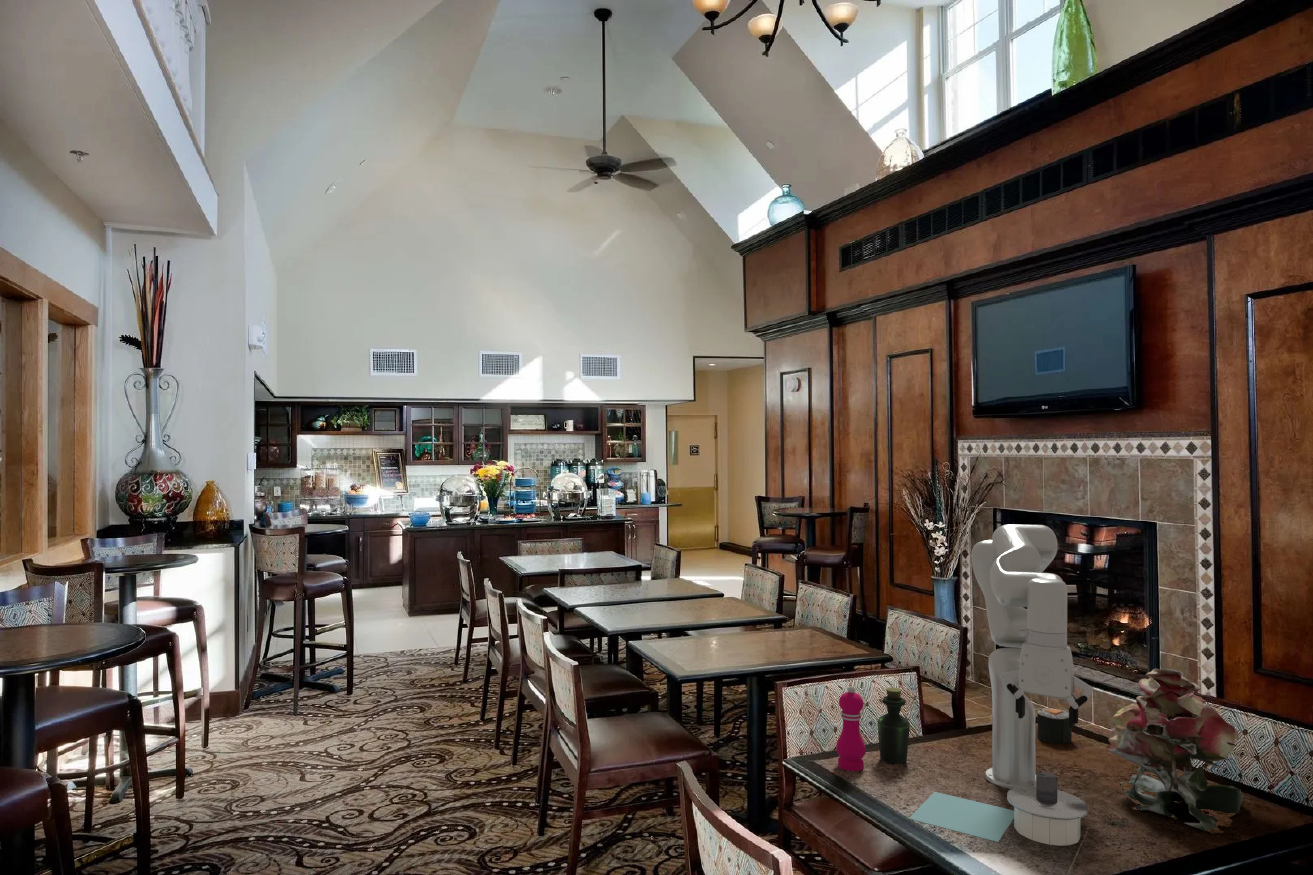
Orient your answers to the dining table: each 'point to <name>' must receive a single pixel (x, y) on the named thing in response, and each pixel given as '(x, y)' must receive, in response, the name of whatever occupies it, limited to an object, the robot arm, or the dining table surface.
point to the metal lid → (1047, 799)
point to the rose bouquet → (1175, 747)
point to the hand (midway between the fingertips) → (1046, 721)
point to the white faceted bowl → (1047, 829)
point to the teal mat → (964, 816)
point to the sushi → (1054, 726)
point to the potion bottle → (893, 729)
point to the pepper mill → (851, 732)
